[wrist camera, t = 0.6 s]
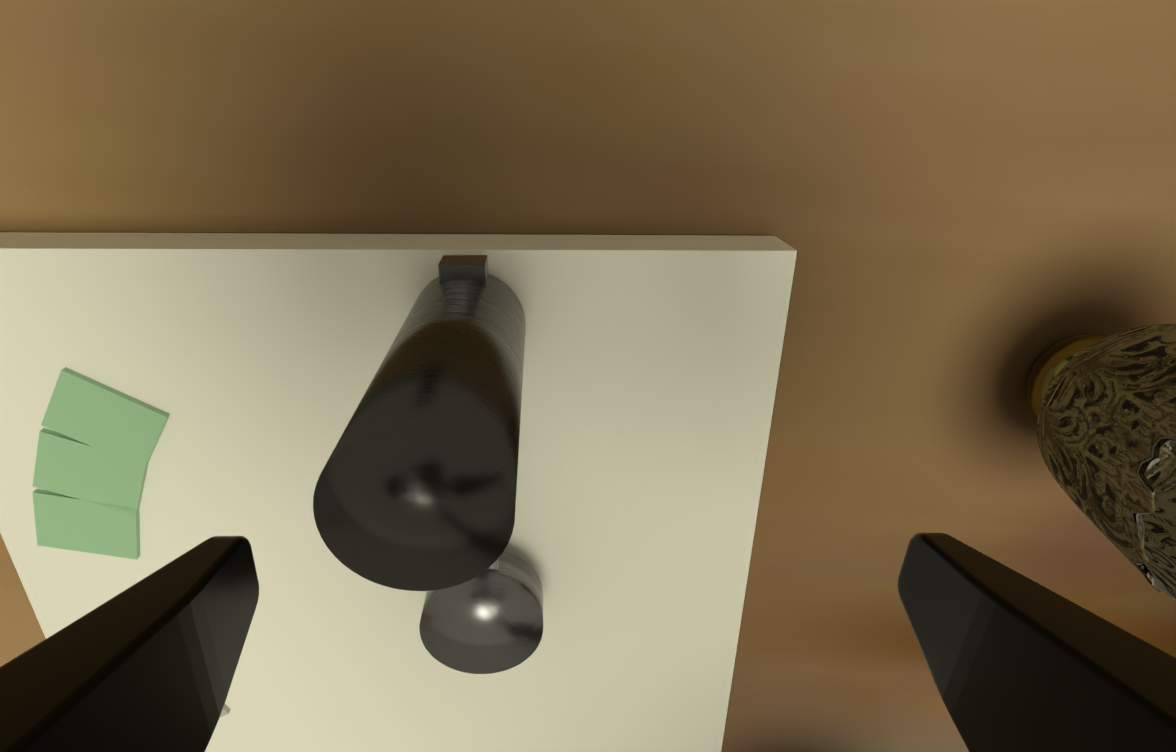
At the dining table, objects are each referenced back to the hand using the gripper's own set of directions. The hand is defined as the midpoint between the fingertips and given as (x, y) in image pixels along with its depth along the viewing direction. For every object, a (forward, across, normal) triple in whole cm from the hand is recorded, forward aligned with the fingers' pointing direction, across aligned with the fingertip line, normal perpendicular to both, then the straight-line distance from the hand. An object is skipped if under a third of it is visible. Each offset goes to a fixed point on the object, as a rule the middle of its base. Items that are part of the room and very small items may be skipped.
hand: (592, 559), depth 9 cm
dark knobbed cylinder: (+11, +3, +6) cm, 12 cm away
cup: (+14, -18, +3) cm, 23 cm away
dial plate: (+13, +5, +10) cm, 17 cm away
